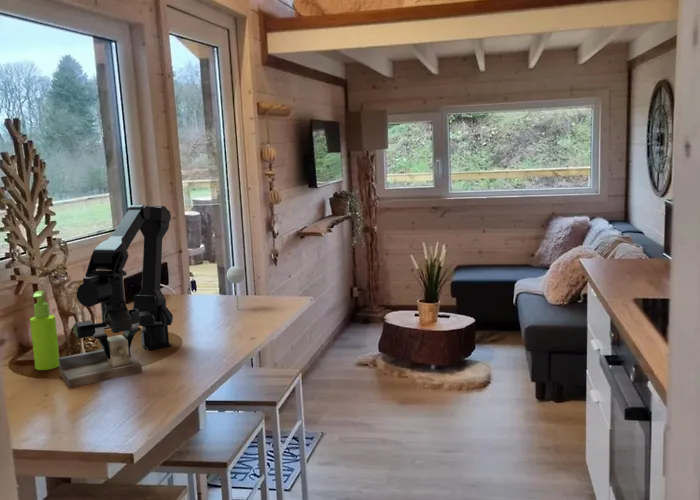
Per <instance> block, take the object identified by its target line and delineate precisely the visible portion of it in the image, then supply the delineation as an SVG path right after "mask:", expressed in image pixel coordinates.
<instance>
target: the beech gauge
mask: <svg viewBox="0 0 700 500" xmlns="http://www.w3.org/2000/svg"><path fill="white" fill-rule="evenodd" d="M107 341H108V346H109V351H110V359H108V358H107V361H108V362H109V363H110V364H111V365H112V366H118V365H123V364H128V363H130V361H129V350H128V340H127V339H126V338H125V337H124V335H123V334H119V335H112V336H107Z"/></svg>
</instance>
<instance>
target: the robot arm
mask: <svg viewBox="0 0 700 500" xmlns="http://www.w3.org/2000/svg"><path fill="white" fill-rule="evenodd" d="M171 217H172V214H171V211H170V210H169V209H168V208H167V206H165V205H150V206H149V205H145V204H132V205H129V206H128V207H127V208H126V213H125V215H124V216H123V217H122V219H121V221H120V222H119V223H118V225H117V226H116V229H114V231H113V233H112V234H111V236H110V237H109V238H108V239H105V240H104V241H102V242H100V243H99V244H98V245H97V246H96V247H95V248H94V249H93V251H92V254H91V256H90V259H89V263H88V265H87V269H86V272H85V277H83V278H82V281H83V282H82V283H81V284H80V285H79V286H78V288H77V291H76V298H77V300H78V302H79V303H80V304H81V305H82V306H84V307H87V308H91V307H93V306H96V305H98V304H100V308H101V309H100V311H101V321H102V322H95V323H94V322H92V321H91V320H85V321H79V322H78V321H77V322H75V323H74V324H73V327H72V329H73V335H75V336H76V338H77V339H85V338H91V337H92V338H93V339H95V340H96V339H97V341H98V342H99V343H100V346H101V348H102V350H104V352H105V354H106V356H107V358H108V359H110V351H109V346H108V341H107V337H108V334H106V333H105V331H106V330H110V331H111V332H112V333H113V334H119V333H120V332H121V333H122V332H123V337H125V338H126V339H127V340H128V350H130V351H131V346H132V343H133V339H134V337H135V335H136V334H137V333H138V332H140V337H141V339H140V340H141V346H143V347H144V348H145V349H147V350H148V351H152V350H156V349H161V348H166V347H170V346H172V343H170V341H169V340H170V338H169V327H168V326H172V324H173V320H174V317H173V316H174V315H173V314H172V312H171V311H170V310H169V308H168V307H167V301H166V297H165V295H164V294H163V292H162V290H161V283H162V282H161V281H162V280H161V279H162V277H161V276H162V275H161V274H162V251H163V238H164V237H165V235H166V233H167V232H168V230H169V227H170V222H171ZM139 231H140V232H141V234H142V236H143V250H142V251H143V255H142V256H143V257H142V280H141V290H140V291H139V293H138V294H135V295H134V297H133V308H131V309H128V306H127V302H126V298H125V288H124V285H125V284H124V277H125V276H127V272H126V271H125V270H123V269H124V268H125V266H126V264H127V262H128V259H129V252H128V250H129V247H130V245H131V244H132V242H133V240H134V239H135V237H136V236H137V234H138V232H139ZM141 327H142V330H141Z"/></svg>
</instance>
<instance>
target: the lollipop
mask: <svg viewBox="0 0 700 500" xmlns="http://www.w3.org/2000/svg"><path fill="white" fill-rule="evenodd" d="M244 278H245V272H244V270H243V268H241V266H237V265H234V266H231V267H230V268H228V269H227V272H226V279H227V280H228V281H229V282H230V283H232V284H234V285H235V299H236V300H235V301H236V302H235V304H236V310H237V311H238V310H239V302H238V301H239V300H238V297H239V296H238V284H240V283H241V282H243V280H244Z"/></svg>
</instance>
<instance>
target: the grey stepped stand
mask: <svg viewBox="0 0 700 500" xmlns="http://www.w3.org/2000/svg"><path fill="white" fill-rule="evenodd" d="M129 361H130V363H128V364H123V365H118V366H112V365H111V364H110V363H109V362H108V361H107V356H106V354H105V352H104V350H103V349H99V350H93V351H87V352H83V353H75V354H72V355H68V356H62V357H59V365H60V366H59V372H60V373H59V374H60V377H61V378H62V379H63V381H64V382H65V384H66V385H67V386H68V388H70V389H71V388H76V387H80V386H85V385H90V384H94V383H95V384H96V383H98V382H99V383H100V382H105V381H109V380H114V379H119V378H123V377H128V376H132V375H136V374H137V375H138V374H141V373H143V368H142V366H143V365H142V364H141V363H140V362H139V361H138V360H137V359H135V357H133V356H132V355H131V349H130V350H129Z"/></svg>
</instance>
